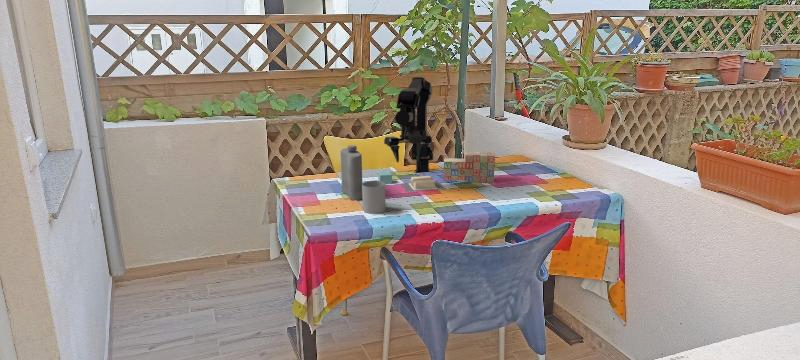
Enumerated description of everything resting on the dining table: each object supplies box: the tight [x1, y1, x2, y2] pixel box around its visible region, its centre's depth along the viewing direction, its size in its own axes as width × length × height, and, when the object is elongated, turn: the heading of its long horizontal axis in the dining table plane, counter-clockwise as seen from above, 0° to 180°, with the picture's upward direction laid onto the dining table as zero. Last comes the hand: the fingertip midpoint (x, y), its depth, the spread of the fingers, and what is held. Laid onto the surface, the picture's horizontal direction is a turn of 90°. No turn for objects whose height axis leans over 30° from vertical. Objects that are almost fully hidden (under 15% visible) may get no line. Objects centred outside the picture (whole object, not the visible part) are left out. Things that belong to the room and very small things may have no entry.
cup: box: [362, 180, 387, 215], centre depth 211 cm, size 8×8×10 cm
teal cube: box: [377, 171, 393, 185], centre depth 243 cm, size 5×5×5 cm
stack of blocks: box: [443, 151, 496, 184], centre depth 246 cm, size 21×6×12 cm, turn 84°
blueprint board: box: [400, 180, 446, 193], centre depth 238 cm, size 12×16×1 cm
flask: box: [339, 144, 363, 201], centre depth 228 cm, size 15×6×20 cm, turn 23°
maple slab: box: [410, 175, 436, 189], centre depth 237 cm, size 8×8×3 cm
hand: (408, 161), depth 233 cm, fingers open, 9 cm apart
